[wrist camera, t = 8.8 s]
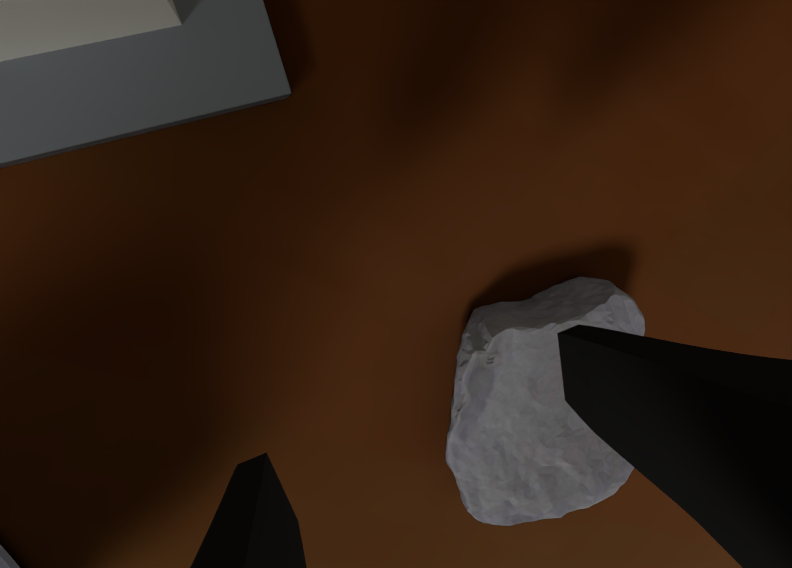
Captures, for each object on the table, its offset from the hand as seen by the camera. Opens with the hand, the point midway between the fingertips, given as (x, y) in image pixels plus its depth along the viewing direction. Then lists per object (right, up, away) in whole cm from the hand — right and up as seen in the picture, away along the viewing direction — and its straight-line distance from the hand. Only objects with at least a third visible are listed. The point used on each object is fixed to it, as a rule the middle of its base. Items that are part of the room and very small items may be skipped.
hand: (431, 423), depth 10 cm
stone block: (+6, -2, +14) cm, 15 cm away
